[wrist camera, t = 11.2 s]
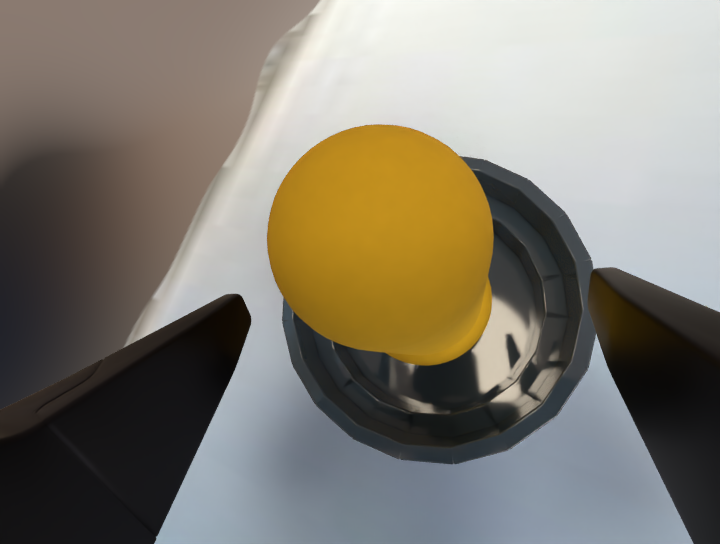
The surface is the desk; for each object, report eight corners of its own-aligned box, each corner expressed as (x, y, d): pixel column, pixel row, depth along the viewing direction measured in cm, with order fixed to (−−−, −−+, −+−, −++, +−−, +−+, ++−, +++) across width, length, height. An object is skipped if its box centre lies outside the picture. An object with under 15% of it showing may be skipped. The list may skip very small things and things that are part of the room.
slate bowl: (532, 484, 16) (553, 529, 12) (291, 384, 20) (244, 390, 16) (592, 220, 18) (630, 177, 14) (359, 180, 22) (333, 139, 18)
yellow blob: (470, 381, 17) (471, 441, 5) (361, 343, 19) (151, 310, 7) (501, 268, 18) (576, 53, 5) (393, 242, 20) (262, 40, 7)
